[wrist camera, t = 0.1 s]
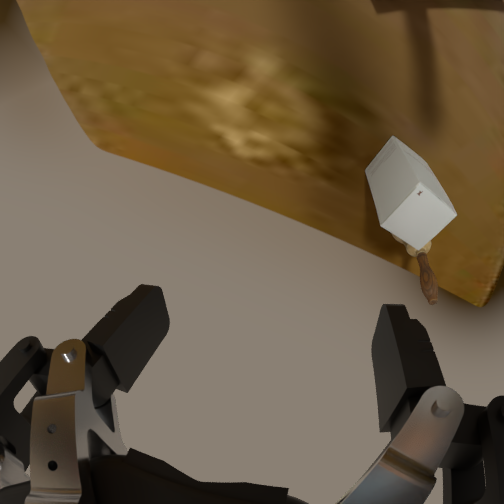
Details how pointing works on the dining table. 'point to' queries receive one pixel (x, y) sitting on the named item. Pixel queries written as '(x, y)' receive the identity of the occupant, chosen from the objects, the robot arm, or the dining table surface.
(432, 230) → the supplement box
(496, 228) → the dining table surface
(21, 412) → the robot arm
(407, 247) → the hand bell
